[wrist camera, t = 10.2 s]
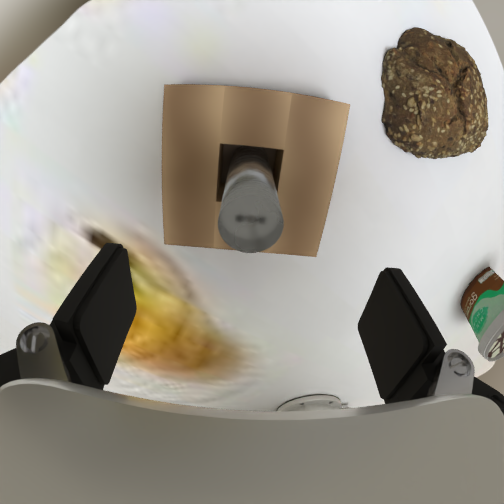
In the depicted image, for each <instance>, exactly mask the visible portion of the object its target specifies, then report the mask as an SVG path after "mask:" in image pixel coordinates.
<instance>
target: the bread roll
mask: <svg viewBox="0 0 504 504" xmlns="http://www.w3.org/2000/svg"><path fill="white" fill-rule="evenodd" d="M383 67H384V71H383V74H382V77H381V79H382V87H383V88H384V95H385V108H384V111H383V115H382V123H384V125H385V127H386V133H387V135H388V137H389V138H390V139H391V140H392V141H393V142H394V145H396V146H398V147H400V148H401V149H402V150H403V151H404V152H410V153H412V154H413V155H415V156H416V157H417V158H421V157H423V158H426V157H427V158H433V159H437V158H445V157H446V158H447V157H455V156H459V155H461V154H463V153H467V152H471V153H472V152H474V151H475V150H476V149H477V148H478V147H480V146H481V143H482V141H483V140H484V137H485V136H486V131H487V130H488V113H487V98H486V94H485V90H484V88H483V83H482V79H481V76H480V75H481V74H480V72H479V70H478V68H477V65H476V64H475V61H474V60H473V58H472V57H471V56H470V55H469V53H468V52H467V51H466V50H465V48H464V47H462V46H460V45H459V44H457V43H456V42H455V41H453V40H451V39H445V38H442V37H441V36H437V35H433V34H431V33H430V32H428V31H426V30H425V29H421V28H417V27H416V28H413V29H410V30H407V31H406V32H404V34H403V35H402V36H401V38H400V39H399V41H398V49H396V48H393V49H390V50H389V51H388V52H387V54H386V56H385V59H384V61H383Z"/></svg>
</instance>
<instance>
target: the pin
mask: <svg viewBox="0 0 504 504" xmlns="http://www.w3.org/2000/svg"><path fill="white" fill-rule="evenodd" d="M283 227H284V220H283V215H282V211H281V207H280V203H279V199H278V195H277V191H276V187H275V183H274V179H273V175H272V171H271V168H270V164H269V160H268V156H267V154H266V152H265V151H264V150H263V149H262V148H261V147H256V146H246V145H242V146H240V147H238V148H237V149H236V150H235V151H234V153H233V154H232V157H231V161H230V166H229V170H228V175H227V180H226V184H225V189H224V193H223V198H222V203H221V208H220V213H219V217H218V230H219V233H220V235H221V237H222V239H223V240H224V241H225V243H226V244H228V245H229V246H230V247H232V248H233V249H235V250H238V251H241V252H245V253H256V252H261V251H264V250H266V249H268V248H270V247H271V246H273V245H274V244H275V243H276V242H277V241H278V239H279V238H280V236H281V234H282V231H283Z"/></svg>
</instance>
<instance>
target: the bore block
mask: <svg viewBox="0 0 504 504" xmlns="http://www.w3.org/2000/svg"><path fill="white" fill-rule="evenodd" d="M349 108H350V104H346V103H342V102H337V101H333V100H328V99H323V98H318V97H313V96H308V95H302V94H296V93H289V92H283V91H275V90H267V89H259V88H249V87H237V86H222V85H195V84H171V85H164V100H163V123H162V203H163V227H164V244H168V245H180V246H192V247H204V248H216V249H228V250H235V249H233V248H232V247H230V246H229V245H228V244H226V243H225V241H224V240H223V239H222V237H221V235H220V233H219V230H218V217H219V213H220V208H221V203H222V198H223V193H224V189H225V184H226V180H227V175H228V170H229V166H230V161H231V157H232V154H233V153H234V151H235V150H236V149H237V148H238V147H240V146H242V145H246V146H256V147H261V148H262V149H263V150H264V151H265V152H266V154H267V156H268V160H269V164H270V168H271V171H272V175H273V179H274V183H275V187H276V191H277V195H278V199H279V203H280V207H281V211H282V215H283V220H284V227H283V231H282V234H281V236H280V238H279V239H278V241H277V242H276V243H275V244H274V245H273V246H271V247H270V248H268V249H266V250H264V251H261V252H264V253H276V254H288V255H300V256H312V257H316V255H317V252H318V248H319V244H320V240H321V237H322V233H323V229H324V225H325V221H326V217H327V213H328V209H329V204H330V200H331V196H332V192H333V187H334V183H335V178H336V174H337V169H338V165H339V160H340V155H341V150H342V145H343V140H344V135H345V130H346V125H347V119H348V114H349Z"/></svg>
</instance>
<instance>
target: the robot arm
mask: <svg viewBox="0 0 504 504" xmlns="http://www.w3.org/2000/svg"><path fill="white" fill-rule="evenodd" d="M135 314H136V300H135V295H134V290H133V284H132V278H131V272H130V266H129V259H128V252H127V249H125V248H123V246H122V245H121V244H114V243H106V244H105V245H104V246H103V248H102V249H101V250H100V252H99V253H98V254H97V255H96V257H95V258H94V259H93V261H92V262H91V263H90V265H89V266H88V267H87V269H86V270H85V272H84V273H83V274H82V276H81V277H80V279H79V280H78V281H77V283H76V284H75V286H74V287H73V289H72V290H71V291H70V293H69V294H68V296H67V297H66V299H65V300H64V302H63V303H62V305H61V306H60V308H59V309H58V311H57V313H56V314H55V316H54V317H53V320H52V322H51V324H50V325H48V324H46V323H41V322H37V323H33V324H30V325H28V326H26V327H25V328H24V329H23V330H22V331H21V332H20V334H19V335H18V337H17V340H16V348H15V349H13V350H10V351H8V352H6V353H3V354H1V355H0V504H504V396H503V395H502V394H501V393H500V392H498V391H497V390H495V389H494V388H492V387H490V386H489V385H487V384H485V383H484V382H482V381H481V380H479V379H477V378H476V377H474V365H473V362H472V361H471V359H470V358H469V357H468V356H467V355H466V354H465V353H464V352H462V351H460V350H457V349H451V350H448V351H447V352H446V353H445V352H444V350H443V349H444V348H445V346H446V345H447V343H446V342H445V340H444V338H443V336H442V334H441V333H440V331H439V329H438V327H437V326H436V324H435V322H434V321H433V319H432V317H431V316H430V314H429V312H428V311H427V309H426V307H425V306H424V304H423V303H422V301H421V299H420V298H419V296H418V295H417V293H416V292H415V290H414V288H413V287H412V285H411V284H410V282H409V281H408V279H407V278H406V276H405V275H404V273H403V272H402V270H401V269H398V268H385V269H384V271H381V272H380V274H379V276H378V279H377V281H376V283H375V286H374V288H373V291H372V293H371V295H370V298H369V300H368V302H367V304H366V307H365V309H364V311H363V313H362V315H361V318H360V320H359V322H358V331H359V334H360V337H361V340H362V343H363V345H364V348H365V351H366V354H367V357H368V360H369V363H370V366H371V369H372V372H373V375H374V378H375V381H376V385H377V388H378V391H379V394H380V397H381V398H382V399H384V401H385V404H382V405H375V406H367V407H358V408H348V409H341V408H342V405H341V401H340V400H339V399H338V398H336V397H333V396H328V395H314V396H307V397H302V398H298V399H295V400H292V401H289V402H287V403H285V404H284V405H282V406H281V407H280V408H279V409H278V410H277V411H244V410H228V409H215V408H205V407H195V406H187V405H179V404H172V403H166V402H160V401H154V400H148V399H143V398H138V397H132V396H127V395H122V394H118V393H113V392H109V391H104V390H103V388H104V385H105V384H106V385H107V384H108V383H109V382H110V379H111V376H112V374H113V371H114V368H115V365H116V363H117V360H118V357H119V355H120V352H121V349H122V347H123V344H124V341H125V339H126V336H127V334H128V331H129V329H130V326H131V324H132V321H133V319H134V317H135Z"/></svg>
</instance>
